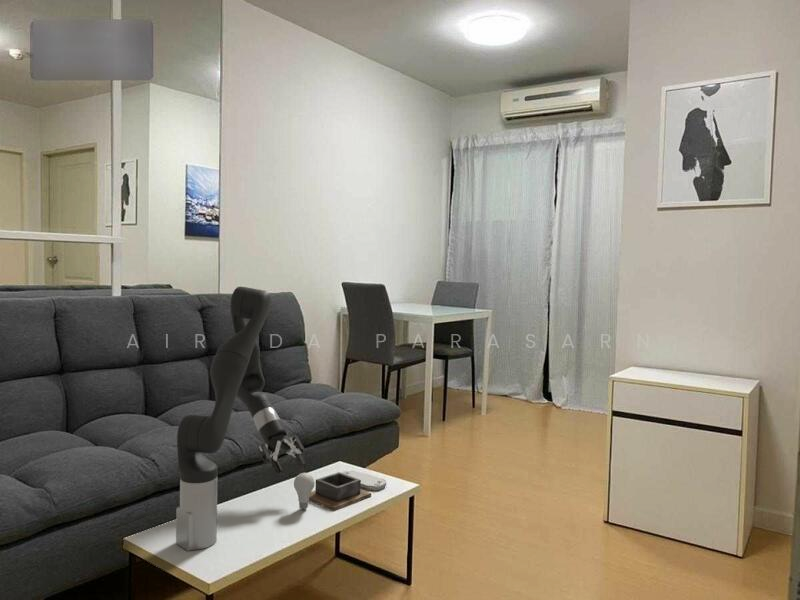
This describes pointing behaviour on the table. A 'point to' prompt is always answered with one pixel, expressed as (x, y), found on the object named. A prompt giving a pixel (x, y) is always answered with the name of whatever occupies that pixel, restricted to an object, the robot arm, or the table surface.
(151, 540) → the table surface
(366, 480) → the game console
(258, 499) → the table surface
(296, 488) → the lightbulb
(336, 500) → the holder
